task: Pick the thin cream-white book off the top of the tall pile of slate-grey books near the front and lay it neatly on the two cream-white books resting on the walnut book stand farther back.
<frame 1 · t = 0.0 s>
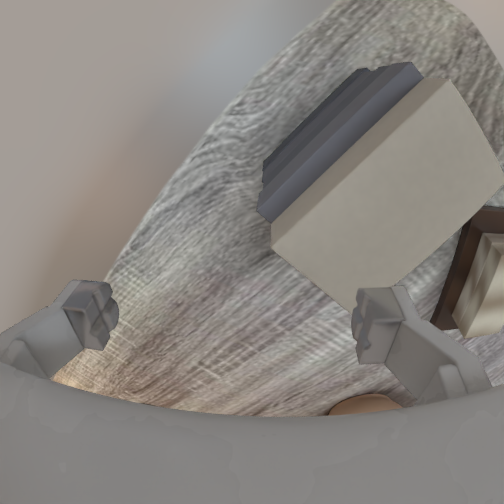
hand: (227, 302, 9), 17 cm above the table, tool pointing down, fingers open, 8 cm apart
grey books: (345, 148, 22), on the table
white book: (387, 190, 14), point 10 cm above the table, touching grey books
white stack: (480, 270, 27), on the table
bowl: (360, 409, 42), on the table
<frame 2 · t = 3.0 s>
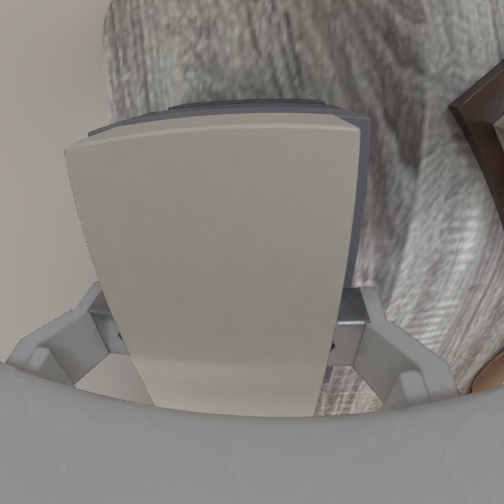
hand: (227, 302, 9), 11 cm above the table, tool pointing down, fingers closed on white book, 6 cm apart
grey books: (252, 188, 18), on the table
white book: (230, 289, 10), point 10 cm above the table, touching grey books, gripper
bowl: (502, 367, 28), on the table
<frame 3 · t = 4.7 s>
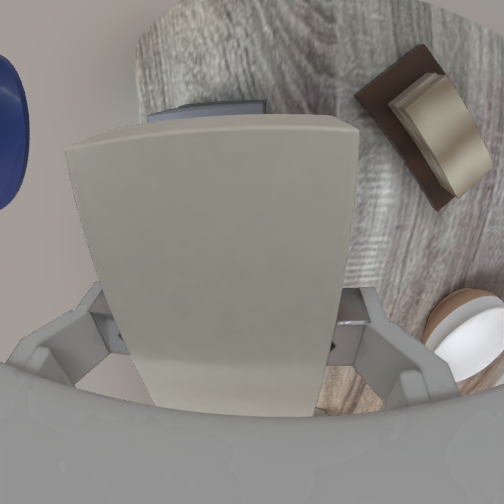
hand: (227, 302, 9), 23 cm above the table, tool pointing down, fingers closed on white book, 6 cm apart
grey books: (227, 154, 29), on the table
white book: (230, 289, 10), point 22 cm above the table, touching gripper
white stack: (431, 128, 26), on the table
bowl: (454, 314, 39), on the table
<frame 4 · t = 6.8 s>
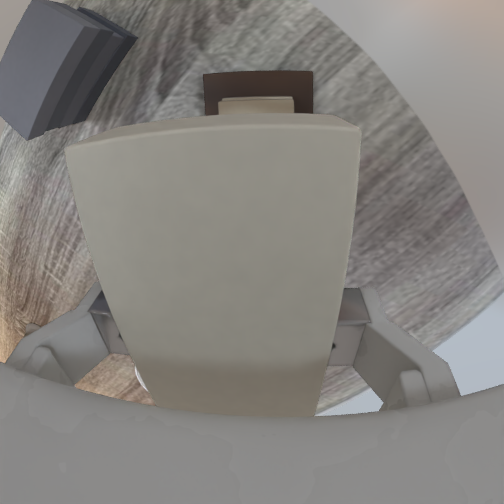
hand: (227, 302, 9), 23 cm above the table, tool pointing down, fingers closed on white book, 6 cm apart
grey books: (86, 63, 24), on the table
white book: (231, 289, 10), point 22 cm above the table, touching gripper
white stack: (260, 150, 29), on the table
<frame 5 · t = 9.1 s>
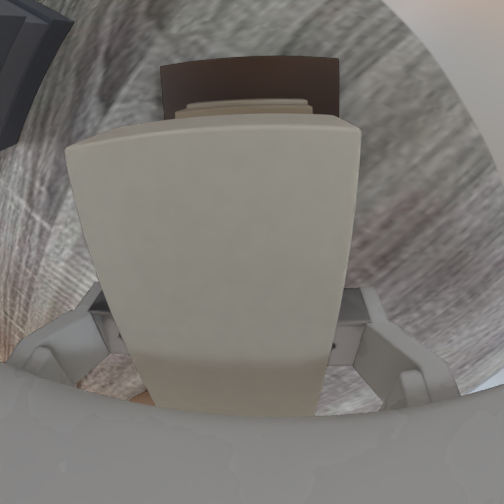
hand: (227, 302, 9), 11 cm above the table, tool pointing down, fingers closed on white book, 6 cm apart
grey books: (14, 66, 14), on the table
white book: (231, 289, 10), point 11 cm above the table, touching gripper
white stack: (253, 184, 19), on the table
when the fingers open (6 cm above the table, at t = 10.9 s): white book stays where it is, resting on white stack.
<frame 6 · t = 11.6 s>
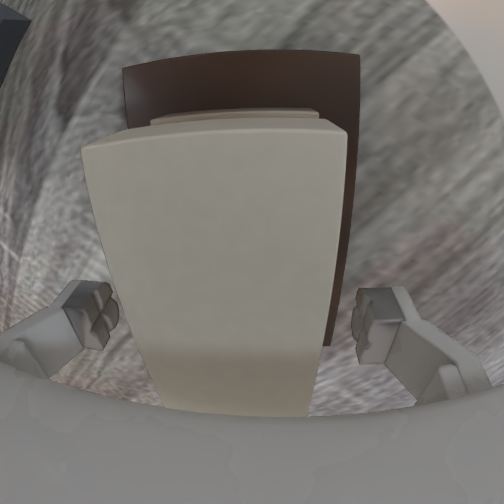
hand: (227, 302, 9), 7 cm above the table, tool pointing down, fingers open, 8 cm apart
white book: (231, 281, 11), point 5 cm above the table, touching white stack
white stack: (245, 218, 15), on the table
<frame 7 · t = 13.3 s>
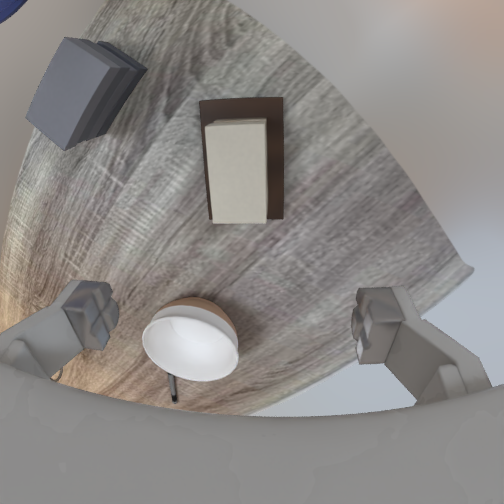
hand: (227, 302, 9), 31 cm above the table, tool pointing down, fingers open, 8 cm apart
grey books: (105, 87, 33), on the table
pen: (173, 385, 65), on the table
white book: (239, 170, 33), point 5 cm above the table, touching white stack
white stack: (244, 159, 37), on the table
bowl: (198, 319, 53), on the table
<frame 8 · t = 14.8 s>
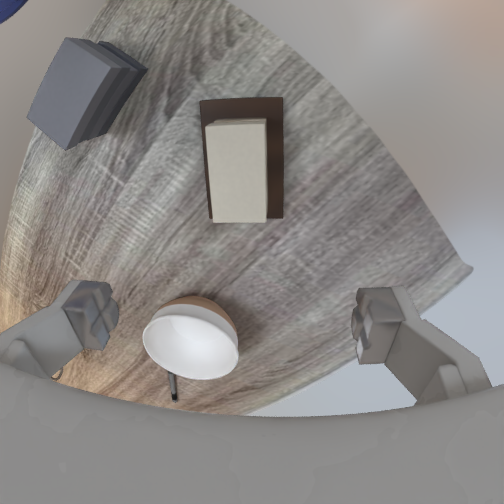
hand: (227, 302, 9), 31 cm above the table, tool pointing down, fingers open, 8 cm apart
grey books: (106, 87, 33), on the table
pen: (173, 383, 66), on the table
white book: (239, 169, 33), point 5 cm above the table, touching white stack
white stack: (244, 158, 38), on the table
bowl: (198, 318, 53), on the table
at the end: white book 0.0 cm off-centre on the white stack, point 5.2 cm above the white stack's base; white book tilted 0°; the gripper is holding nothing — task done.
